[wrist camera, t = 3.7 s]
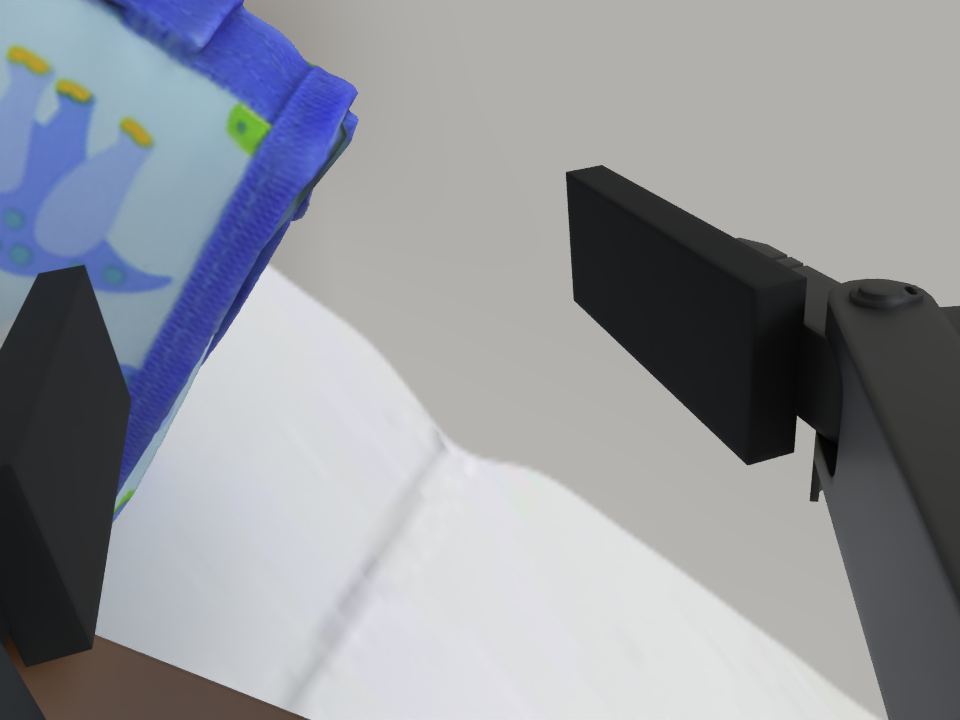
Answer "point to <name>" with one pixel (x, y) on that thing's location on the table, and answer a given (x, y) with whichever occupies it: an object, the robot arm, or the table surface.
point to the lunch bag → (156, 174)
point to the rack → (132, 689)
